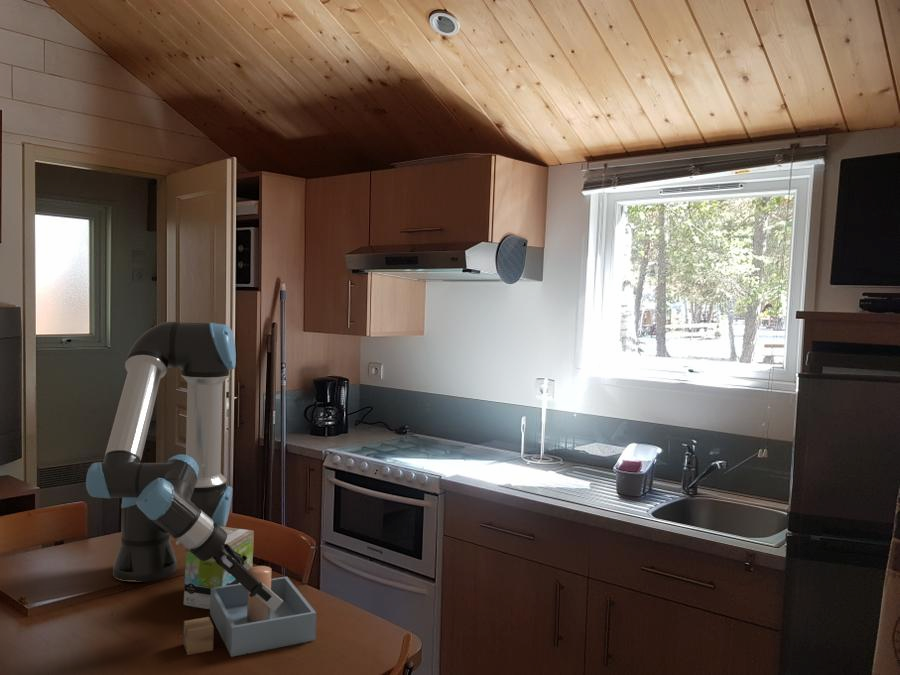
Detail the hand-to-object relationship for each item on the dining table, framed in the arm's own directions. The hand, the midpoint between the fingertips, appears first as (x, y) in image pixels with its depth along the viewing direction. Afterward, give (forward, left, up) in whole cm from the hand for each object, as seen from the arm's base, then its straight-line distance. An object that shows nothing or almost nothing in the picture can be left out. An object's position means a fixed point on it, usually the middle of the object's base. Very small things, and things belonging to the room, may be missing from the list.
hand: (269, 594), depth 164 cm
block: (+6, -16, -6) cm, 19 cm away
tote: (+2, -2, -6) cm, 7 cm away
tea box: (-18, -7, -6) cm, 20 cm away
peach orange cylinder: (0, -2, -5) cm, 6 cm away
